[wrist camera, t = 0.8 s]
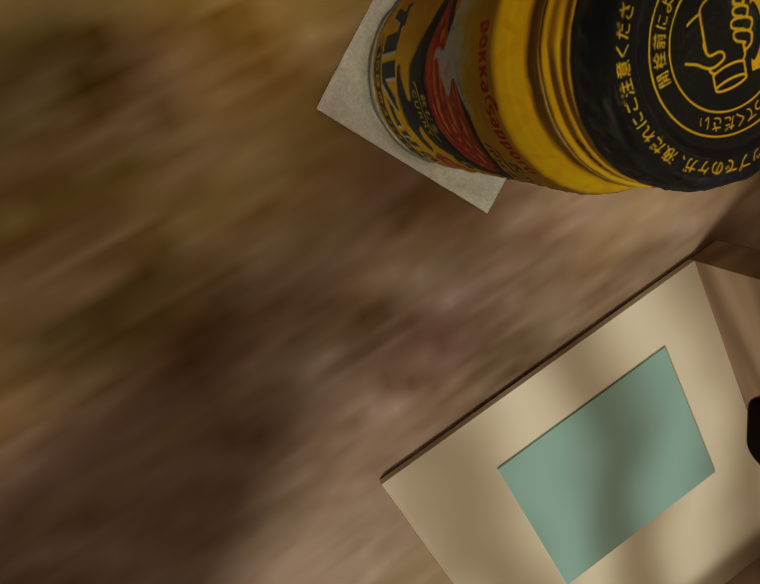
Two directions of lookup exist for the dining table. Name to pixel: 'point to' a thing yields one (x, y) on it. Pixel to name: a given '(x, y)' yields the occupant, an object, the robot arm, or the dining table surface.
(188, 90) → the dining table surface
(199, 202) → the dining table surface
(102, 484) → the dining table surface
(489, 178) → the condiment
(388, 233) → the dining table surface
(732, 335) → the corner arena
